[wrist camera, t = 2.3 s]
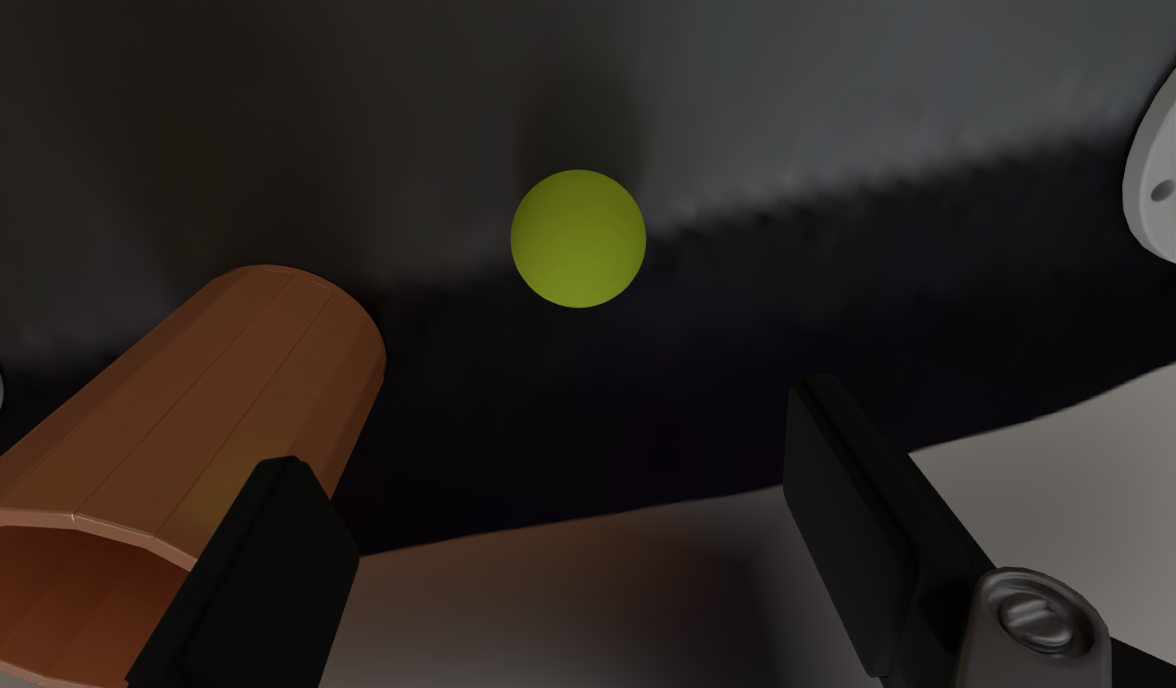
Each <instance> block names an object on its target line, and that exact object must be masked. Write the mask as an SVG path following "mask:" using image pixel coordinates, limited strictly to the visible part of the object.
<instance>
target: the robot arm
mask: <svg viewBox="0 0 1176 688" xmlns="http://www.w3.org/2000/svg"><path fill="white" fill-rule="evenodd" d="M1122 191H1123V210H1124V214H1125V216H1126V219H1127V222H1128V225H1129V228H1130V231H1131V232H1132V233H1133V235H1134V236H1135V237H1136V238H1137V240H1138V241H1139V242H1140V243H1141V245H1142V246H1143V247H1145V248H1146V249H1148V250H1149V251H1151V252H1153V253H1154V254H1156V255H1157V256H1159V257H1161V258H1163V259H1166V260H1168V261H1171V262H1173V263H1176V68H1175V69H1174V70H1173V72H1172V73H1171V75H1170V76H1169V77H1168V79H1167V80H1166V82H1165V83H1164V85H1163V86H1162V87H1161V89H1160V90H1159V92H1158V93H1157V94H1156V96H1155V98H1154V100H1153V102H1152V104H1151V105H1150V107H1149V109H1148V111H1147V113H1146V115H1145V117H1144V118H1143V120H1142V122H1141V124H1140V126H1139V128H1138V131H1137V133H1136V136H1135V139H1134V142H1133V144H1132V147H1131V150H1130V153H1129V155H1128V158H1127V163H1126V168H1125V174H1124V180H1123V186H1122ZM783 491H784V496H785V500H786V502H787V505H788V507H789V509H790V511H791V513H792V516H793V518H794V520H795V522H796V524H797V526H798V528H799V530H800V532H801V535H802V537H803V539H804V541H805V543H806V546H807V548H808V550H809V552H810V554H811V556H812V558H813V560H814V563H815V565H816V567H817V569H818V571H819V573H820V575H821V578H822V580H823V582H824V584H825V586H826V588H827V590H828V593H829V595H830V597H831V599H832V601H833V603H834V606H835V608H836V610H837V612H838V614H839V616H840V619H841V621H842V623H843V625H844V627H845V629H846V631H847V633H848V636H849V638H850V640H851V642H852V644H853V646H854V649H855V651H856V653H857V655H858V657H859V659H860V661H861V664H862V665H863V667H864V669H865V671H866V673H867V674H868V675H869V676H870V677H871V678H874V677H879V679H880V681H881V683H882V685H883V687H884V688H1176V666H1174V665H1172V664H1170V663H1167V662H1165V661H1163V660H1161V659H1159V658H1157V657H1154V656H1152V655H1150V654H1148V653H1146V652H1143V651H1141V650H1139V649H1137V648H1135V647H1132V646H1130V645H1128V644H1126V643H1123V642H1121V641H1119V640H1117V639H1114V638H1112V637H1110V636H1109V632H1108V627H1107V626H1106V624H1105V623H1104V621H1103V620H1102V618H1101V616H1100V615H1099V613H1098V611H1097V610H1096V609H1095V608H1094V607H1093V606H1092V605H1091V604H1090V603H1089V602H1088V601H1087V600H1086V599H1085V598H1084V597H1083V596H1082V595H1081V594H1079V593H1078V592H1076V591H1075V590H1073V589H1072V588H1070V587H1069V586H1067V585H1066V584H1065V583H1063V582H1061V581H1059V580H1057V579H1055V578H1053V577H1051V576H1048V575H1046V574H1044V573H1041V572H1038V571H1034V570H1030V569H1026V568H1019V567H1002V568H996V567H995V566H994V564H993V563H992V562H991V560H990V559H989V558H988V557H987V555H986V554H985V553H984V551H983V550H982V549H981V548H980V546H979V545H978V544H977V543H976V541H975V540H974V539H973V537H972V536H971V535H970V533H969V532H968V531H967V530H966V528H965V527H964V526H963V524H962V523H961V522H960V521H959V519H958V518H957V517H956V516H955V514H954V513H953V512H952V510H951V509H950V508H949V506H948V505H947V504H946V503H945V501H944V500H943V499H942V498H941V496H940V495H939V494H938V492H937V491H936V490H935V488H934V487H933V486H932V485H931V483H930V482H929V481H928V480H927V478H926V477H925V476H924V474H923V473H922V472H921V470H920V469H919V468H918V467H917V466H916V464H915V463H914V462H913V460H912V459H911V458H910V456H909V455H908V454H907V452H906V451H905V450H904V449H903V447H902V446H901V445H900V444H899V443H898V442H897V441H896V440H895V439H893V438H891V437H881V436H880V435H879V433H878V432H877V431H876V429H875V428H874V427H873V425H872V424H871V423H870V421H869V420H868V419H867V417H866V416H865V415H864V413H863V412H862V411H861V409H860V408H859V407H858V405H857V404H856V403H855V401H854V400H853V399H852V397H851V396H850V395H849V393H848V392H847V391H846V389H845V388H844V387H843V385H842V384H841V383H840V381H839V380H838V379H837V377H836V376H835V375H834V374H831V373H830V374H824V375H817V376H810V377H804V378H801V379H800V380H799V382H798V386H796V387H791V388H790V391H789V403H788V417H787V432H786V446H785V461H784V475H783ZM358 565H359V551H358V548H357V546H356V544H355V542H354V540H353V539H352V537H351V535H350V534H349V532H348V530H347V528H346V527H345V525H344V523H343V522H342V520H341V518H340V517H339V515H338V513H337V511H336V510H335V508H334V506H333V505H332V503H331V501H330V499H329V498H328V496H327V494H326V493H325V491H324V489H323V487H322V486H321V484H320V482H319V481H318V479H317V477H316V476H315V474H314V472H313V470H312V469H311V467H310V465H309V464H308V463H307V462H305V461H300V459H299V458H298V457H296V456H294V455H290V456H283V457H276V458H270V459H263V460H261V461H260V462H259V463H258V464H257V465H256V466H255V468H254V469H253V471H252V473H251V474H250V476H249V477H248V479H247V481H246V482H245V484H244V486H243V487H242V489H241V490H240V492H239V494H238V495H237V497H236V498H235V500H234V502H233V503H232V505H231V507H230V508H229V510H228V511H227V513H226V515H225V516H224V518H223V519H222V521H221V523H220V524H219V526H218V528H217V529H216V531H215V532H214V534H213V536H212V537H211V539H210V541H209V542H208V544H207V545H206V547H205V549H204V550H203V552H202V553H201V555H200V557H199V558H198V560H197V562H196V563H195V565H194V566H193V568H192V570H191V571H190V573H189V574H188V576H187V578H186V579H185V581H184V583H183V584H182V586H181V587H180V589H179V591H178V592H177V594H176V595H175V597H174V599H173V600H172V602H171V604H170V605H169V607H168V608H167V610H166V612H165V613H164V615H163V616H162V618H161V620H160V621H159V623H158V625H157V626H156V628H155V629H154V631H153V633H152V634H151V636H150V637H149V639H148V641H147V642H146V644H145V646H144V647H143V649H142V650H141V652H140V654H139V655H138V657H137V658H136V660H135V662H134V663H133V665H132V667H131V668H130V670H129V671H128V673H127V675H126V676H125V678H124V680H125V681H127V682H128V683H129V684H128V686H127V688H318V686H319V683H320V680H321V677H322V674H323V671H324V668H325V665H326V662H327V659H328V656H329V653H330V650H331V647H332V644H333V641H334V638H335V635H336V632H337V629H338V626H339V623H340V620H341V617H342V614H343V611H344V608H345V605H346V602H347V599H348V596H349V593H350V590H351V587H352V584H353V581H354V578H355V575H356V572H357V569H358Z"/></svg>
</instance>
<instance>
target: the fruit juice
mask: <svg viewBox="0 0 1176 688" xmlns="http://www.w3.org/2000/svg"><path fill="white" fill-rule="evenodd" d="M3 397H4V387H3V381H2V377H1V375H0V408H1V405H2V402H3Z"/></svg>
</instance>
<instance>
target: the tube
mask: <svg viewBox="0 0 1176 688" xmlns="http://www.w3.org/2000/svg"><path fill="white" fill-rule="evenodd" d="M385 370H386V352H385V347H384V343H383V340H382V337H381V335H380V332H379V330H378V328H377V326H376V325H375V323H374V321H373V320H372V318H371V317H370V316H369V314H368V313H367V312H366V310H365V309H364V308H363V307H362V306H361V305H360V304H359V303H358V302H357V301H356V300H355V299H354V298H353V297H351V296H350V295H349V294H348V293H346V292H345V291H344V290H342V289H341V288H339V287H338V286H336V285H335V284H333V283H331V282H329V281H327V280H325V279H324V278H322V277H319V276H317V275H314V274H312V273H309V272H307V271H303V270H300V269H296V268H292V267H286V266H281V265H267V264H265V265H250V266H245V267H239V268H236V269H233V270H230V271H227V272H225V273H223V274H221V275H220V276H218V277H216V278H214V279H212V280H211V281H210V282H209V283H208V284H206V285H205V286H204V287H203V288H202V289H200V290H199V291H198V292H197V293H196V294H194V295H193V296H192V297H191V298H190V299H188V300H187V301H186V302H185V303H184V304H182V305H181V306H180V307H179V308H178V309H177V310H175V311H174V312H173V313H172V314H171V315H169V316H168V317H167V318H166V319H165V320H163V321H162V322H161V323H160V324H159V325H157V326H156V327H155V328H154V329H153V330H151V331H150V332H149V333H148V334H147V335H145V336H144V337H143V338H142V339H141V340H139V341H138V342H137V343H136V344H135V345H134V346H132V347H131V348H130V349H129V350H128V351H126V352H125V353H124V354H123V355H122V356H120V357H119V358H118V359H117V360H116V361H114V362H113V363H112V364H111V365H110V366H108V367H107V368H106V369H105V370H104V371H102V372H101V373H100V374H99V375H98V376H96V377H95V378H94V379H93V380H92V381H91V382H89V383H88V384H87V385H86V386H85V387H83V388H82V389H81V390H80V391H79V392H77V393H76V394H75V395H74V396H73V397H71V398H70V399H69V400H68V401H67V402H65V403H64V404H63V405H62V406H61V407H59V408H58V409H57V410H56V411H55V412H53V413H52V414H51V415H50V416H49V417H48V418H46V419H45V420H44V421H43V422H42V423H40V424H39V425H38V426H37V427H36V428H34V429H33V430H32V431H31V432H30V433H28V434H27V435H26V436H25V437H24V438H22V439H21V440H20V441H19V442H18V443H16V444H15V445H14V446H13V447H12V448H10V449H9V450H8V451H7V452H6V453H5V454H3V455H2V456H1V457H0V671H1V672H4V673H7V674H10V675H12V676H15V677H18V678H21V679H23V680H26V681H29V682H32V683H35V684H37V685H41V686H43V687H48V688H127V686H128V684H129V683H128V682H127V681H125V680H124V678H125V676H126V675H127V673H128V671H129V670H130V668H131V667H132V665H133V663H134V662H135V660H136V658H137V657H138V655H139V654H140V652H141V650H142V649H143V647H144V646H145V644H146V642H147V641H148V639H149V637H150V636H151V634H152V633H153V631H154V629H155V628H156V626H157V625H158V623H159V621H160V620H161V618H162V616H163V615H164V613H165V612H166V610H167V608H168V607H169V605H170V604H171V602H172V600H173V599H174V597H175V595H176V594H177V592H178V591H179V589H180V587H181V586H182V584H183V583H184V581H185V579H186V578H187V576H188V574H189V573H190V571H191V570H192V568H193V566H194V565H195V563H196V562H197V560H198V558H199V557H200V555H201V553H202V552H203V550H204V549H205V547H206V545H207V544H208V542H209V541H210V539H211V537H212V536H213V534H214V532H215V531H216V529H217V528H218V526H219V524H220V523H221V521H222V519H223V518H224V516H225V515H226V513H227V511H228V510H229V508H230V507H231V505H232V503H233V502H234V500H235V498H236V497H237V495H238V494H239V492H240V490H241V489H242V487H243V486H244V484H245V482H246V481H247V479H248V477H249V476H250V474H251V473H252V471H253V469H254V468H255V466H256V465H257V464H258V463H259V462H260V461H261V460H263V459H270V458H276V457H283V456H290V455H294V456H296V457H298V458H299V459H300V461H305V462H307V463H308V464H309V465H310V467H311V469H312V470H313V472H314V474H315V476H316V477H317V479H318V481H319V482H320V484H321V486H322V487H323V489H324V491H325V493H326V494H327V496H328V498H329V499H330V500H331V497H332V495H333V493H334V491H335V488H336V486H337V484H338V482H339V479H340V477H341V475H342V473H343V470H344V468H345V466H346V464H347V461H348V459H349V457H350V455H351V452H352V450H353V448H354V446H355V443H356V441H357V439H358V437H359V434H360V432H361V430H362V428H363V425H364V423H365V421H366V419H367V416H368V414H369V412H370V410H371V407H372V405H373V403H374V401H375V398H376V396H377V394H378V392H379V389H380V387H381V385H382V383H383V378H384V374H385Z"/></svg>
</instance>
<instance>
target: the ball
mask: <svg viewBox="0 0 1176 688" xmlns="http://www.w3.org/2000/svg"><path fill="white" fill-rule="evenodd" d="M645 247H646V231H645V225H644V221H643V217H642V214H641V212H640V209H639V207H638V206H637V204H636V202H635V201H634V199H633V198H632V196H631V195H630V194H629V193H628V191H627V190H626V189H624V188H623V187H622V186H621V185H620V184H619V183H617V182H616V181H614V180H613V179H611V178H609V177H607V176H605V175H603V174H600V173H597V172H593V171H588V170H569V171H563V172H560V173H556V174H553V175H551V176H549V177H547V178H545V179H544V180H542V181H541V182H539V183H538V184H537V185H536V186H534V187H533V188H532V189H531V190H530V191H529V192H528V193H527V194H526V196H525V197H524V198H523V200H522V201H521V203H520V205H519V207H518V209H517V211H516V213H515V216H514V219H513V223H512V228H511V248H512V254H513V258H514V261H515V264H516V266H517V268H518V271H519V272H520V274H521V276H522V277H523V279H524V280H525V281H526V282H527V284H528V285H529V286H530V287H531V288H532V289H533V290H534V291H535V292H536V293H538V294H539V295H540V296H542V297H544V298H545V299H547V300H549V301H551V302H554V303H556V304H559V305H563V306H568V307H577V308H580V307H590V306H595V305H598V304H601V303H604V302H606V301H608V300H610V299H612V298H613V297H615V296H617V295H618V294H619V293H621V292H622V291H623V290H624V289H625V288H626V287H627V286H628V285H629V284H630V283H631V281H632V280H633V279H634V277H635V275H636V274H637V272H638V270H639V268H640V266H641V264H642V261H643V257H644V253H645Z"/></svg>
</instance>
